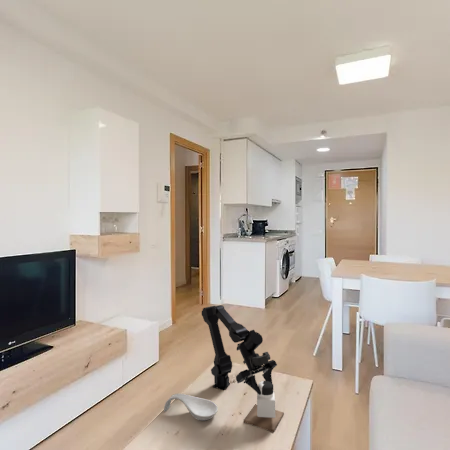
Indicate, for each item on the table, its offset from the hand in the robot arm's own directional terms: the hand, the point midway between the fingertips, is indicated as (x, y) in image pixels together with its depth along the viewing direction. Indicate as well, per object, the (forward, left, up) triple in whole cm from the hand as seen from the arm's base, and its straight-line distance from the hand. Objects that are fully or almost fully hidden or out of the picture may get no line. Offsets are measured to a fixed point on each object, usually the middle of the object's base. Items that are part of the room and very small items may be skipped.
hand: (266, 391), depth 129 cm
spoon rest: (-31, -10, -13) cm, 35 cm away
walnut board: (-2, +1, -12) cm, 12 cm away
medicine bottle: (0, 0, -9) cm, 9 cm away
